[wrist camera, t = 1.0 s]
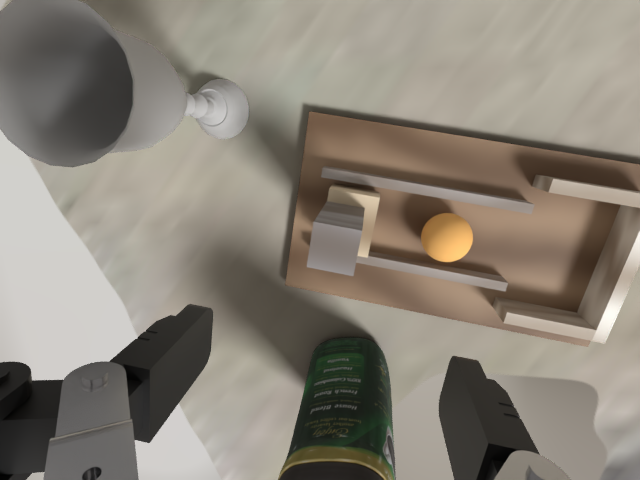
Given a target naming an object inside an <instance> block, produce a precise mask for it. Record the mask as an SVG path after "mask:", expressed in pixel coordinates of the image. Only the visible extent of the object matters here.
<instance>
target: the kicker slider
mask: <svg viewBox="0 0 640 480" xmlns="http://www.w3.org/2000/svg"><path fill="white" fill-rule="evenodd" d="M379 201H380V192H378V191H372V190H366V189H361V188H355V187H350V186H344V185H338V184H332V186H331V187H330V188H329V193H328V199H327V202H326V204H325V205H324V207H323V208H322V210H321V211H320V213H319V214H318V216H317V217H316V219H315V220H314V222H313V229H312V235H311V242H310V248H309V255H308V261H307V267H309V268H314V269H319V270H324V271H329V272H334V273H339V274H344V275H349V276H353V275H354V270H355V265H356V260H357V256H360V257H366V258H368V254H369V249H370V244H371V239H372V234H373V229H374V225H375V220H376V215H377V210H378V205H379Z"/></svg>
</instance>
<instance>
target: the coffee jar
mask: <svg viewBox="0 0 640 480" xmlns="http://www.w3.org/2000/svg"><path fill="white" fill-rule="evenodd" d="M278 480H396V478H395V457H394V441H393V425H392V401H391V387H390V378H389V371H388V367H387V363H386V359H385V356H384V354H383V352H382V350H381V349H380V347H379V346H378V345H377V344H375V343H374V342H372V341H370V340H368V339H364V338H355V337H349V338H337V339H332V340H329V341H326V342H324V343H322V344H320V345H319V346H318V347H317V348H316V349H315V351H314V353H313V356H312V359H311V363H310V367H309V371H308V375H307V380H306V384H305V389H304V393H303V397H302V402H301V406H300V410H299V414H298V418H297V421H296V425H295V429H294V434H293V438H292V441H291V446H290V449H289V453H288V456H287V459H286V461H285V463H284V465H283V468H282V470H281V472H280V475H279V478H278Z"/></svg>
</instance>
